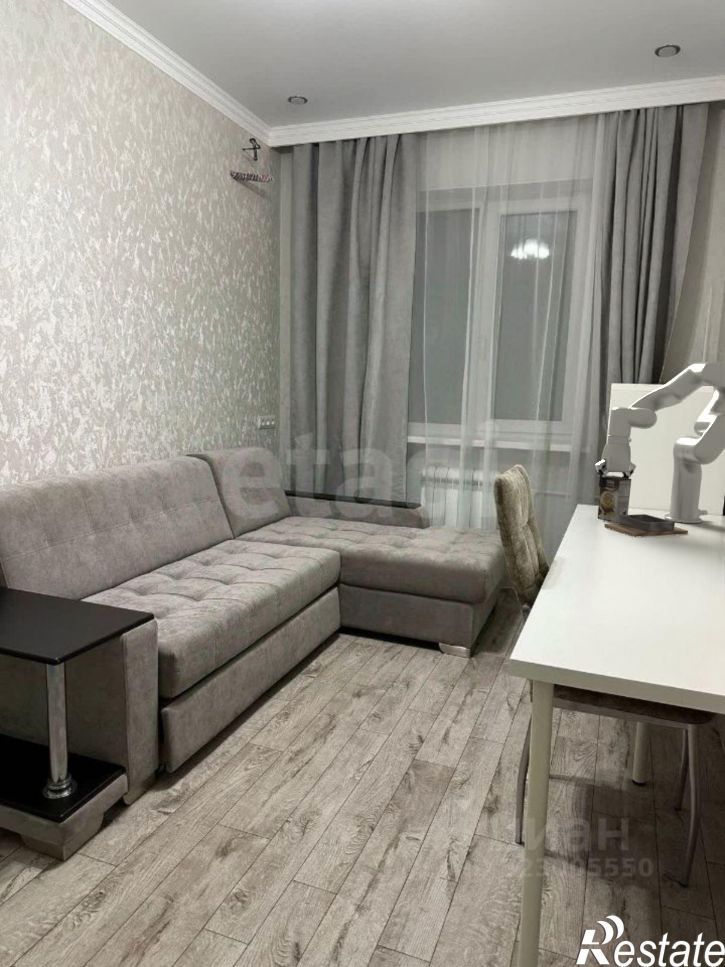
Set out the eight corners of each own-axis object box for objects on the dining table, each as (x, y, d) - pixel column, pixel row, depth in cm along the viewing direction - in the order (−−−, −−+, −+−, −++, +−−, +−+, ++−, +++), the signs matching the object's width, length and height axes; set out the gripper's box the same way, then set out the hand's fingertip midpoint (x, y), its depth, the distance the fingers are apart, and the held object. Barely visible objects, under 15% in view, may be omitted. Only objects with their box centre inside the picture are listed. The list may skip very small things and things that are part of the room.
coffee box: (596, 517, 246) (600, 475, 243) (609, 516, 248) (613, 474, 246) (615, 522, 237) (619, 478, 235) (628, 521, 240) (632, 478, 238)
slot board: (655, 524, 236) (656, 513, 235) (687, 534, 221) (689, 521, 221) (604, 527, 229) (605, 515, 228) (634, 536, 215) (635, 524, 214)
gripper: (630, 441, 245) (625, 486, 247) (592, 439, 239) (587, 485, 242) (645, 442, 238) (639, 489, 240) (605, 441, 232) (600, 489, 235)
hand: (613, 487), depth 241 cm, fingers open, 9 cm apart
